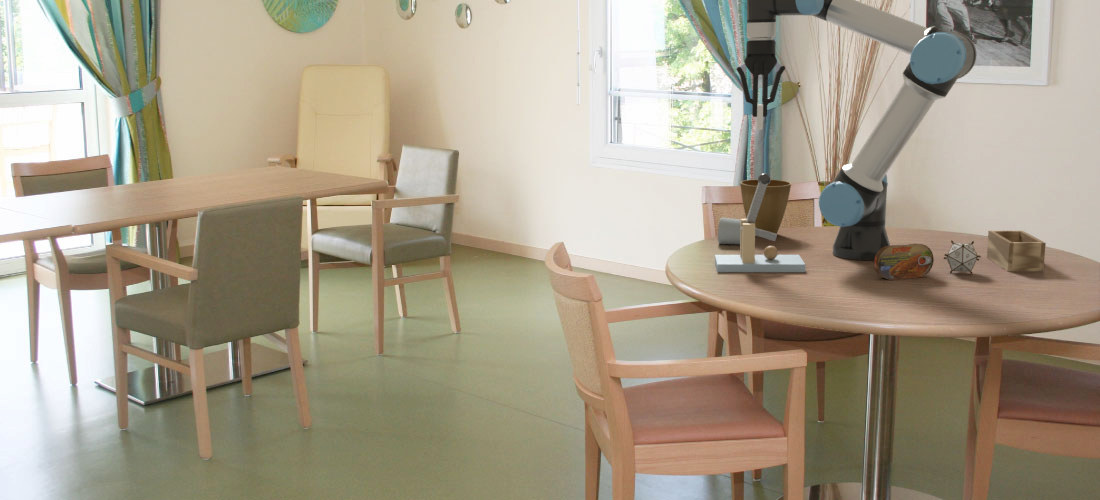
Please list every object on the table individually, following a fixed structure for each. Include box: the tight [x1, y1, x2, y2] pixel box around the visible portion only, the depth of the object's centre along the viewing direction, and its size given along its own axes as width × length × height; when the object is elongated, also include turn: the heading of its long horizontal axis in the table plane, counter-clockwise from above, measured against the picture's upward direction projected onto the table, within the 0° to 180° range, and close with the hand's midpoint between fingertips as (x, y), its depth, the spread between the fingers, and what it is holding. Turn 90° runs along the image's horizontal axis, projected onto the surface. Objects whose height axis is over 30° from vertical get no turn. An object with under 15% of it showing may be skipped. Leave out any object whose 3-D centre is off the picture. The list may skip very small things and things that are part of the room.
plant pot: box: [739, 178, 792, 238], centre depth 309 cm, size 15×15×16 cm
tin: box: [873, 243, 935, 281], centre depth 252 cm, size 15×3×8 cm, turn 102°
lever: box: [741, 172, 778, 242], centre depth 264 cm, size 9×4×17 cm, turn 86°
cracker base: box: [714, 218, 806, 273], centre depth 267 cm, size 22×12×12 cm, turn 84°
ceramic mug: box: [717, 217, 741, 246], centre depth 299 cm, size 11×8×8 cm
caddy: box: [986, 230, 1047, 272], centre depth 264 cm, size 9×17×7 cm, turn 174°
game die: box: [943, 239, 982, 275], centre depth 256 cm, size 9×8×10 cm
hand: (759, 129), depth 276 cm, fingers closed
